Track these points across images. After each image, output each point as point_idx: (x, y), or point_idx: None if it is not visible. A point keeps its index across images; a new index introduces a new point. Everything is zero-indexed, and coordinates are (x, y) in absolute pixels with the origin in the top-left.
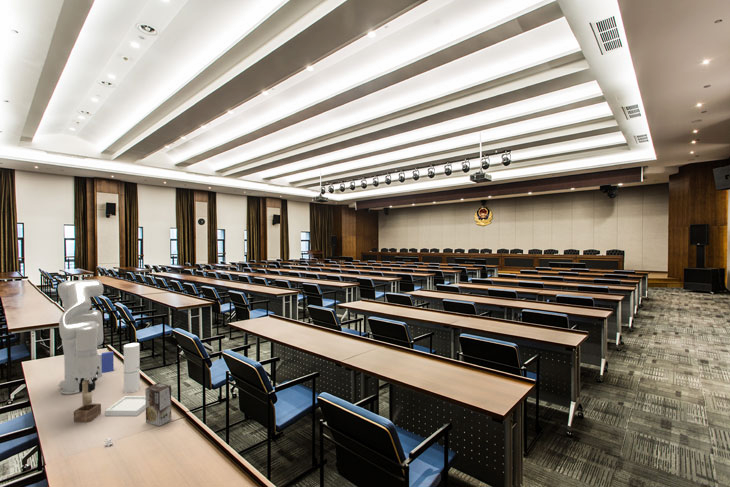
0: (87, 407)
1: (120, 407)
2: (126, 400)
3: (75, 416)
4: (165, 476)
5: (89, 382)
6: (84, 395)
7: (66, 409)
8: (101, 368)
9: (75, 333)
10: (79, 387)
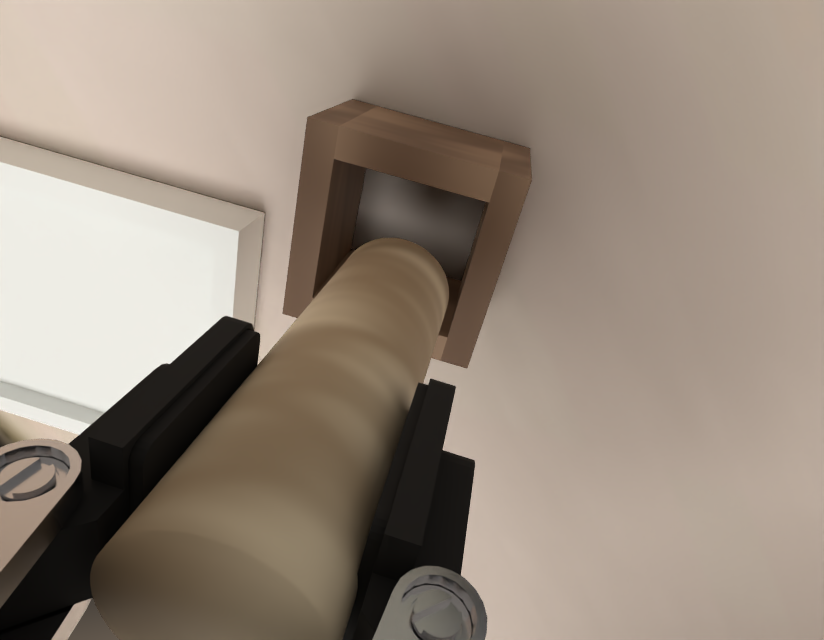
0: None
1: (158, 294)
2: None
3: (507, 157)
4: None
5: (64, 491)
6: (357, 307)
7: (712, 453)
8: None
9: None
10: (430, 455)
